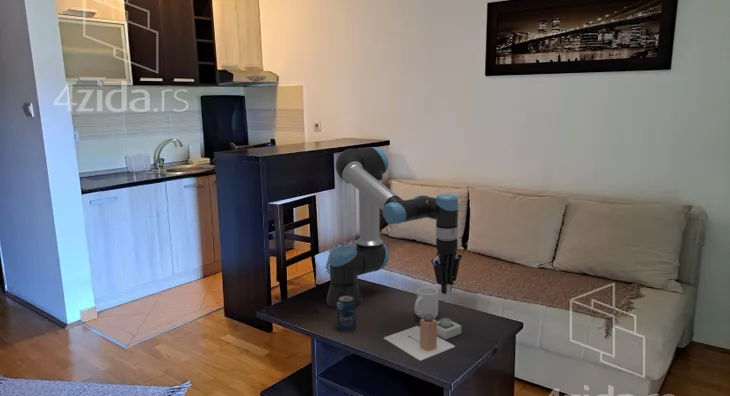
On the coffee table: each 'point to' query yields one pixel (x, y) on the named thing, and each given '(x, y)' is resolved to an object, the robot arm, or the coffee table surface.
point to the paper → (416, 343)
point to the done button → (445, 323)
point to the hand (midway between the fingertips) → (446, 301)
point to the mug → (426, 302)
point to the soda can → (346, 313)
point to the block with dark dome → (428, 333)
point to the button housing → (448, 330)
